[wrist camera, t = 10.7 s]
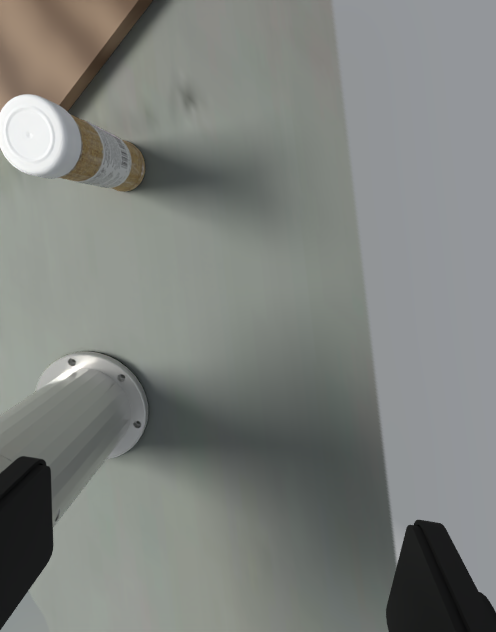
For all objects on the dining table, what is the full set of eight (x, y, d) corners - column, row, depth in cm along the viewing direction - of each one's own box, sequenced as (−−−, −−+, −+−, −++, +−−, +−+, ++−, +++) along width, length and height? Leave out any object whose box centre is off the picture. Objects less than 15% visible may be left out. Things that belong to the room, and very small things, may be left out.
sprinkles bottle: (100, 139, 35) (-11, 89, 22) (147, 142, 35) (63, 93, 22) (101, 191, 36) (-5, 172, 23) (147, 194, 36) (66, 177, 23)
